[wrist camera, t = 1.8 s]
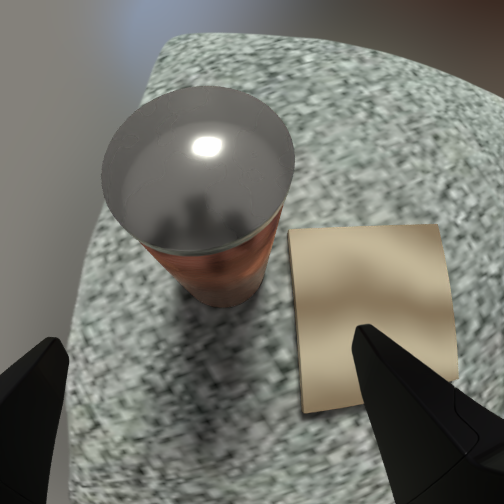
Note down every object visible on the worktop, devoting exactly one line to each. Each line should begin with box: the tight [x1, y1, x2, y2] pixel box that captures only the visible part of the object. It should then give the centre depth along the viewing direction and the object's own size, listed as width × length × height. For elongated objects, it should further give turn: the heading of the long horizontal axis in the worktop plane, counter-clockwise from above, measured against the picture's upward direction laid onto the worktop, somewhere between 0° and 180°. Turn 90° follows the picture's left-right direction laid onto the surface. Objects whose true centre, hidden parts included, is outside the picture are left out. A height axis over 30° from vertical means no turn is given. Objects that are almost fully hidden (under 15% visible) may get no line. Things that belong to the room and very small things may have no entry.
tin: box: [101, 86, 295, 308], centre depth 15 cm, size 6×6×13 cm
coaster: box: [287, 224, 459, 413], centre depth 20 cm, size 12×12×1 cm
